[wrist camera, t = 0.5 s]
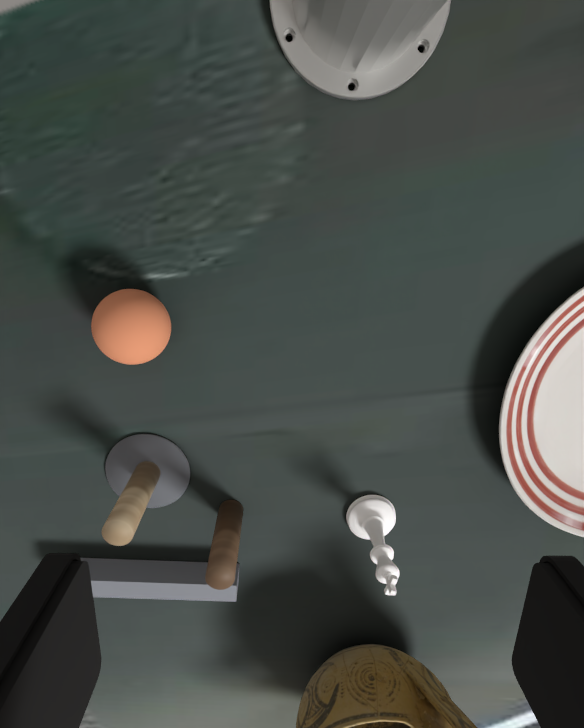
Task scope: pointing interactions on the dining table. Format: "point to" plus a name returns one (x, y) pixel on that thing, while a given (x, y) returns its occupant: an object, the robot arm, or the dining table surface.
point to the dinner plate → (548, 419)
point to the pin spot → (152, 450)
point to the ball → (131, 326)
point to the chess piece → (376, 534)
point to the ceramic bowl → (377, 693)
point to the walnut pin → (225, 546)
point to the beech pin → (131, 504)
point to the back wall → (155, 580)
